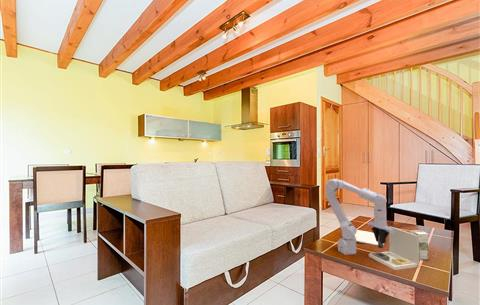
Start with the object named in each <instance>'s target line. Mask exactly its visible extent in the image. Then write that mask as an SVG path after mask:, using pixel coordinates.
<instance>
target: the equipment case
mask: <svg viewBox="0 0 480 305" xmlns="http://www.w3.org/2000/svg"><path fill="white" fill-rule="evenodd" d="M389 227H390V228H391V229H394V233H389V234H388V236H389V238H388V241H389V247H388V248H389V249H388V250H389V251H382V252H381V251H379V252H373V253H372V252H371V253H368V257H369V258H371V259H373V260H374V261H376V262H378V263H380V264H382V265H384V266H386V267H388V268H389V269H391V270H394V271H400V270H407V269H414V268H418V265H419V264H420V259H419V236H418V235H415V234H412V233H411V232H408V231H406V230H404V229H400V228H397V227H393V226H389Z"/></svg>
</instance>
